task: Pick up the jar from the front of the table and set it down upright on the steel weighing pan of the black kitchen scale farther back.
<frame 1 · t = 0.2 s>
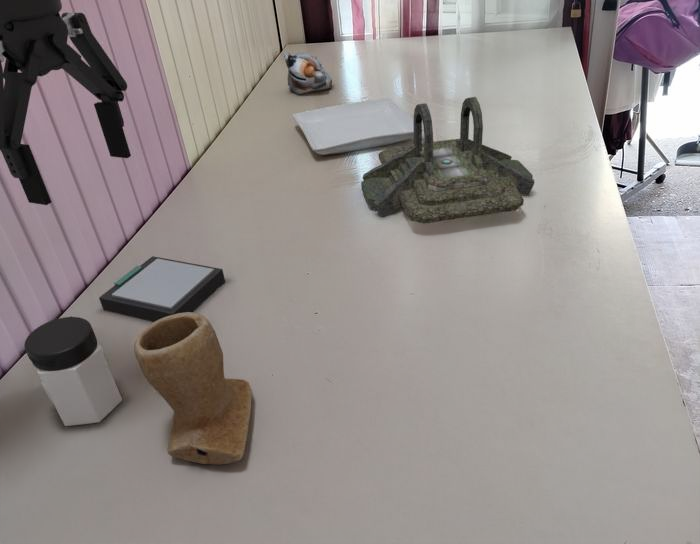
hand: (83, 178, 75), 28 cm above the table, tool pointing down, fingers open, 13 cm apart
clay smoking pipe: (207, 428, 81), on the table
grey stone stepped platform: (446, 192, 131), on the table
jar: (90, 406, 87), on the table
square plate: (355, 135, 160), on the table
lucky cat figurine: (311, 91, 193), on the table
scale: (165, 295, 107), on the table
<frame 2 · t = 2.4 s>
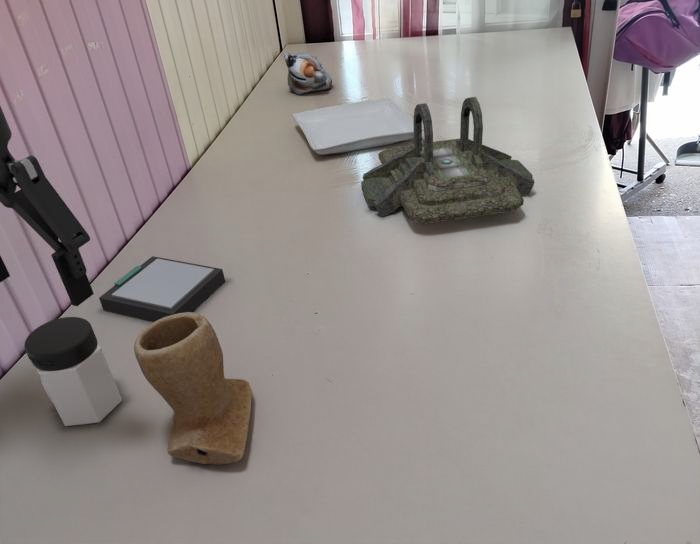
hand: (40, 290, 75), 19 cm above the table, tool pointing down, fingers open, 13 cm apart
nothing on the table moved.
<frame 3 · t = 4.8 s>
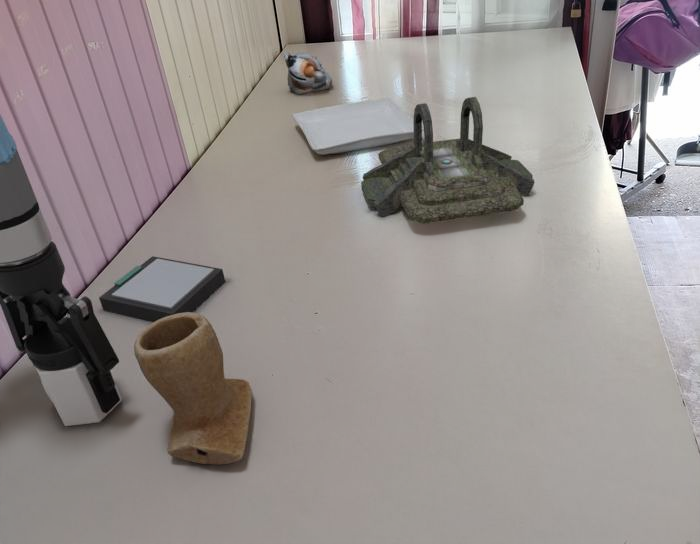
hand: (86, 398, 86), 1 cm above the table, tool pointing down, fingers closed on jar, 8 cm apart
jar: (90, 406, 87), on the table, touching gripper
everything else where it was.
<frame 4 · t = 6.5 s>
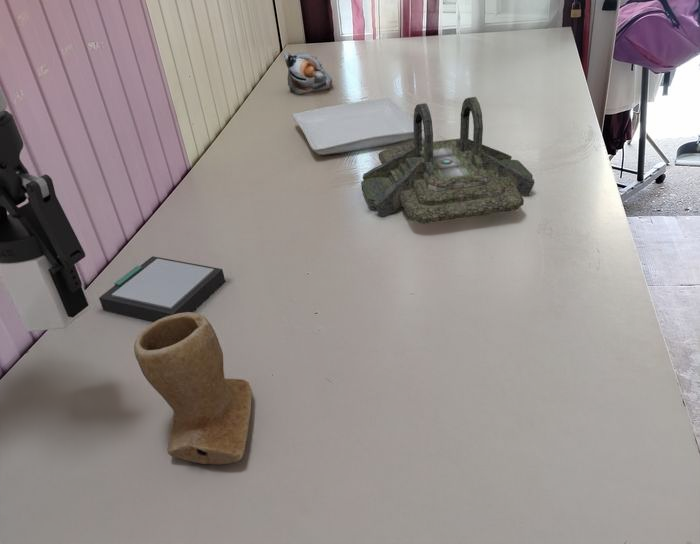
hand: (52, 304, 78), 16 cm above the table, tool pointing down, fingers closed on jar, 8 cm apart
jar: (56, 313, 79), point 14 cm above the table, touching gripper
everything else where it was.
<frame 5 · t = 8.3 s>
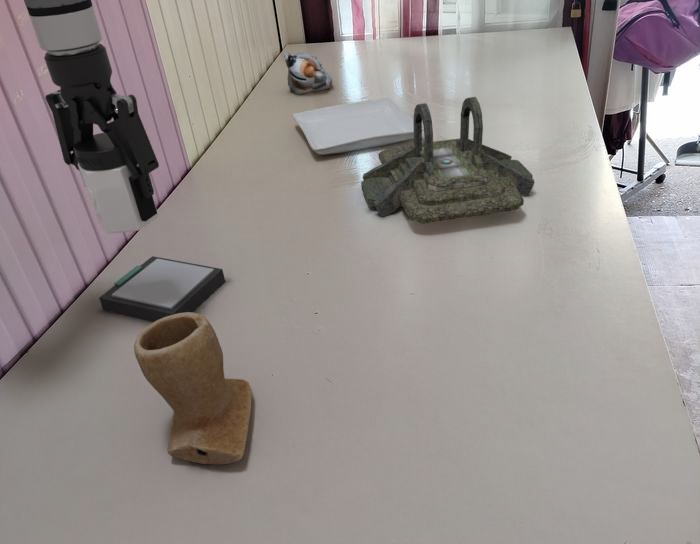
hand: (126, 213, 94), 17 cm above the table, tool pointing down, fingers closed on jar, 8 cm apart
jar: (129, 221, 95), point 16 cm above the table, touching gripper
everything else where it was.
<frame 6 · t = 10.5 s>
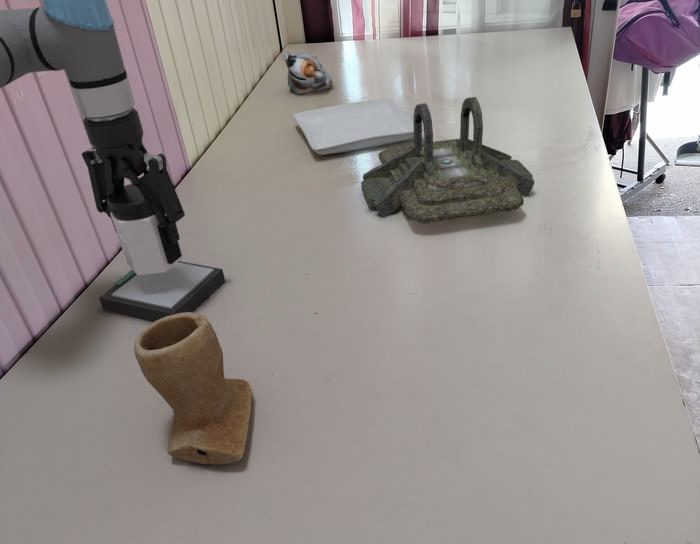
hand: (153, 255, 102), 8 cm above the table, tool pointing down, fingers closed on jar, 8 cm apart
jar: (155, 263, 103), point 6 cm above the table, touching gripper
everything else where it was.
when the fingers open (4 cm above the table, at t = 11.9 s): jar stays where it is, resting on scale.
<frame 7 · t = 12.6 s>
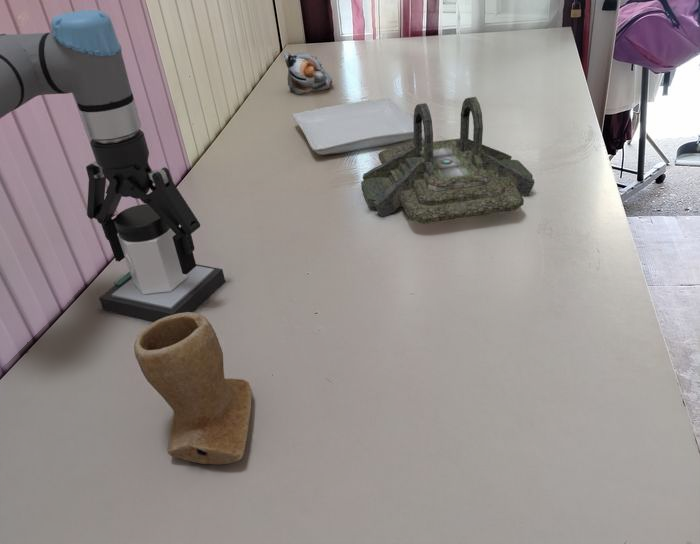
hand: (155, 263, 103), 6 cm above the table, tool pointing down, fingers open, 13 cm apart
jar: (161, 281, 106), point 3 cm above the table, touching scale
everything else where it was.
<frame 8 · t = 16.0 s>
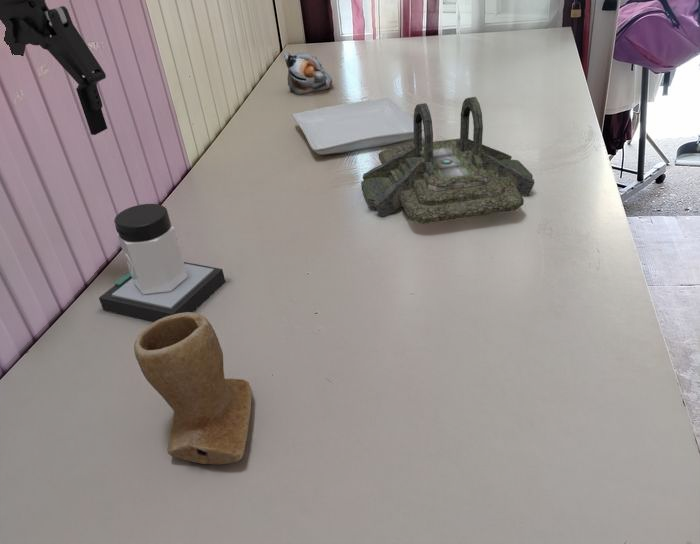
hand: (65, 128, 96), 27 cm above the table, tool pointing down, fingers open, 13 cm apart
nothing on the table moved.
at the end: jar inside the target area on the scale (0.5 cm from its centre), point 2.7 cm above the scale's base; jar tilted 0°; the gripper is holding nothing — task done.
